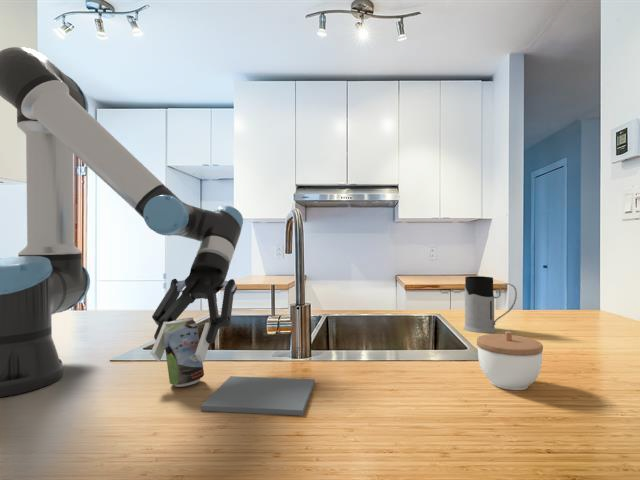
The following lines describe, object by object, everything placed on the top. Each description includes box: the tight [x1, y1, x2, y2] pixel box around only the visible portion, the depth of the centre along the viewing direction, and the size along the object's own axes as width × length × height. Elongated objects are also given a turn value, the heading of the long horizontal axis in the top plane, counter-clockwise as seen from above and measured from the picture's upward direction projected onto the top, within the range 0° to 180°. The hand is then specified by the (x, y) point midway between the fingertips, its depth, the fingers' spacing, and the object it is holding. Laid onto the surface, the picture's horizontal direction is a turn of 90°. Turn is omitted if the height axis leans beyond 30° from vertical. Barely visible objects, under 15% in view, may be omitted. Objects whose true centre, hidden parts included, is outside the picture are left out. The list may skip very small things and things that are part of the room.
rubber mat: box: [200, 375, 316, 417], centre depth 66 cm, size 16×13×1 cm
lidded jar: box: [476, 331, 544, 391], centre depth 70 cm, size 11×11×9 cm
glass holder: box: [463, 275, 518, 334], centre depth 111 cm, size 9×14×15 cm, turn 54°
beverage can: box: [163, 317, 205, 388], centre depth 72 cm, size 6×7×12 cm
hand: (177, 357), depth 69 cm, fingers open, 8 cm apart
